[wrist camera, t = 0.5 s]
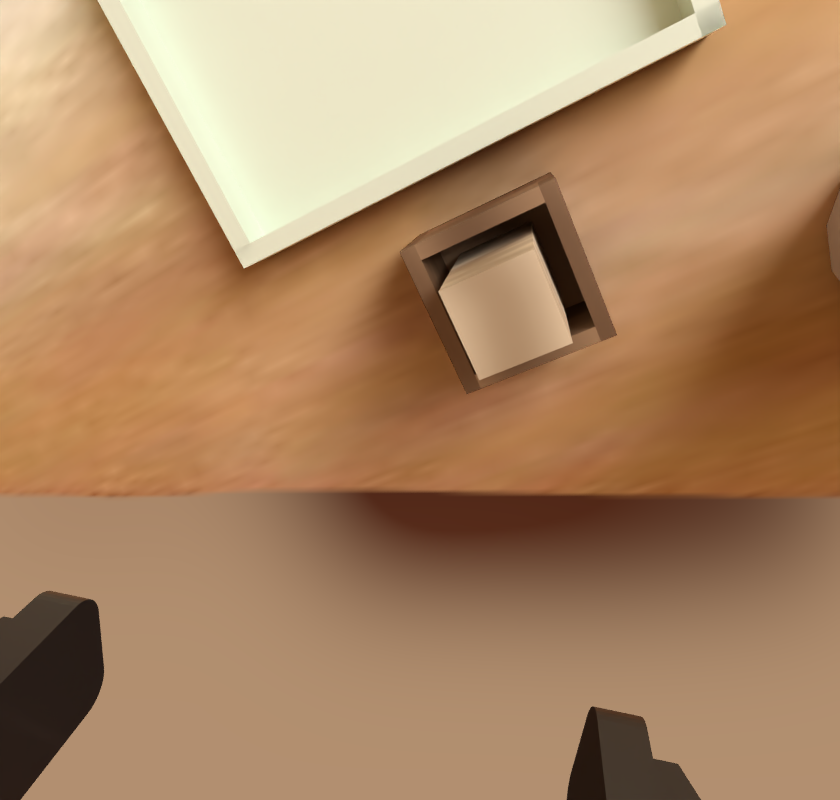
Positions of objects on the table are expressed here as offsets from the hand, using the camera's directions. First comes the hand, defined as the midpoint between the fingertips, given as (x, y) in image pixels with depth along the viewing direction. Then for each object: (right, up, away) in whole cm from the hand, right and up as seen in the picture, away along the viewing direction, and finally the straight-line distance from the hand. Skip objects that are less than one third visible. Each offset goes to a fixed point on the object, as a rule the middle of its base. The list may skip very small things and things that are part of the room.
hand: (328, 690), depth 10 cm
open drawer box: (+5, +10, +18) cm, 22 cm away
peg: (+5, +10, +18) cm, 21 cm away
